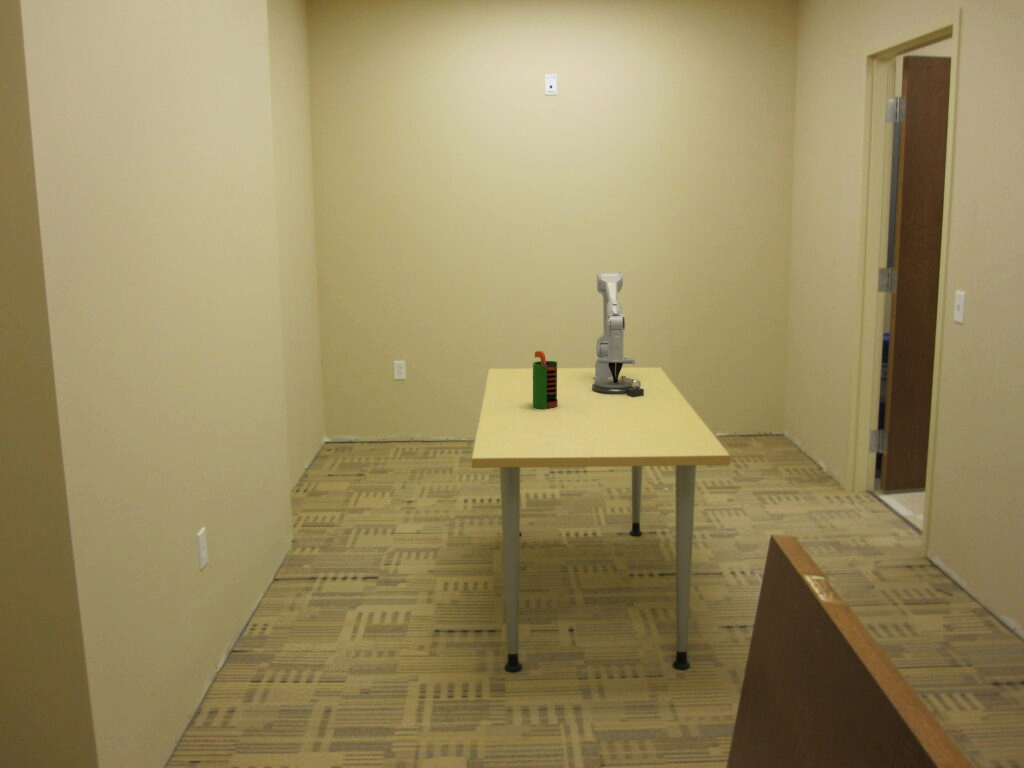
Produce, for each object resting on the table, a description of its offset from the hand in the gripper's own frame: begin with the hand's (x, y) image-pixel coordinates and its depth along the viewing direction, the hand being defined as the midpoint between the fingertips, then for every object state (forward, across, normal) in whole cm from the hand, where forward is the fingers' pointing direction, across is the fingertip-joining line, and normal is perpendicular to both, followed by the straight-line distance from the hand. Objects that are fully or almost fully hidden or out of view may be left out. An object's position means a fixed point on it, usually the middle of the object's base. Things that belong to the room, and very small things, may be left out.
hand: (615, 382), depth 343 cm
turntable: (+2, 0, +6) cm, 6 cm away
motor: (+4, -24, -24) cm, 34 cm away
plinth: (+4, 0, +6) cm, 7 cm away
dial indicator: (+4, +8, -5) cm, 10 cm away
